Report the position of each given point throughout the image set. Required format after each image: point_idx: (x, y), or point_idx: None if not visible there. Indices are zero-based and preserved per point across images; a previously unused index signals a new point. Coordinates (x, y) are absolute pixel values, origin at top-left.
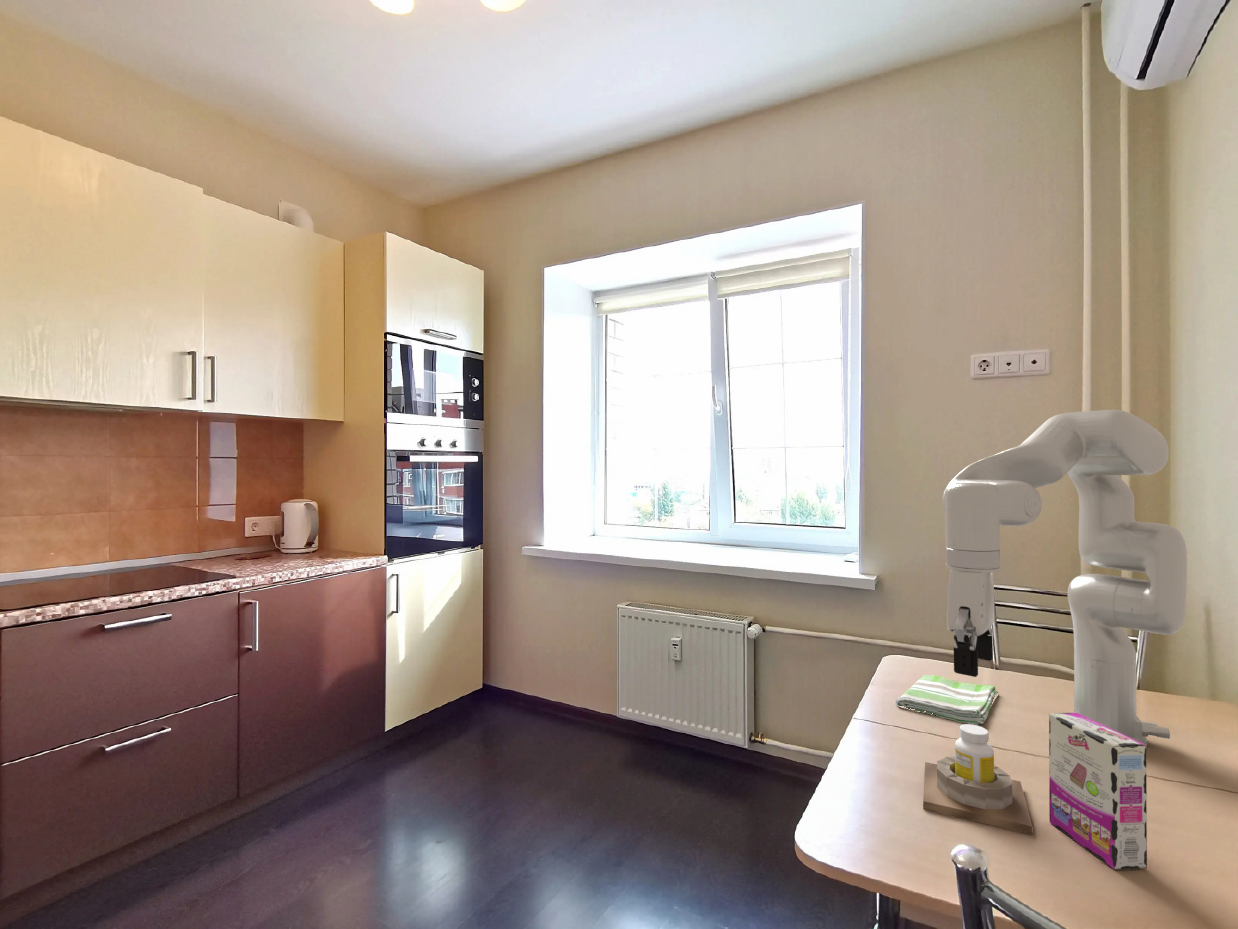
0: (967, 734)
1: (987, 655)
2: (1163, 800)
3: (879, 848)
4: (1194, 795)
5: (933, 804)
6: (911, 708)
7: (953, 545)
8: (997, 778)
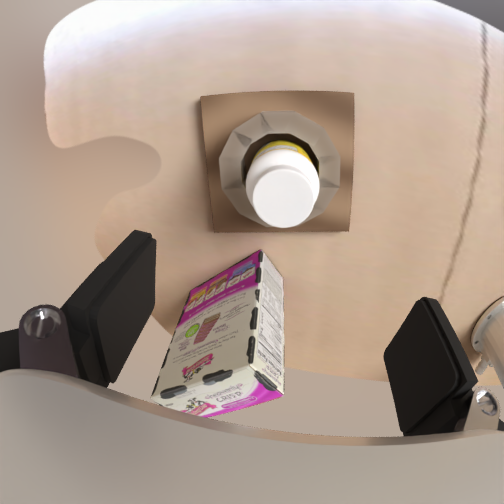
0: (255, 184)
1: (391, 360)
2: (372, 349)
3: (84, 77)
4: None
5: (201, 110)
6: None
7: None
8: None
